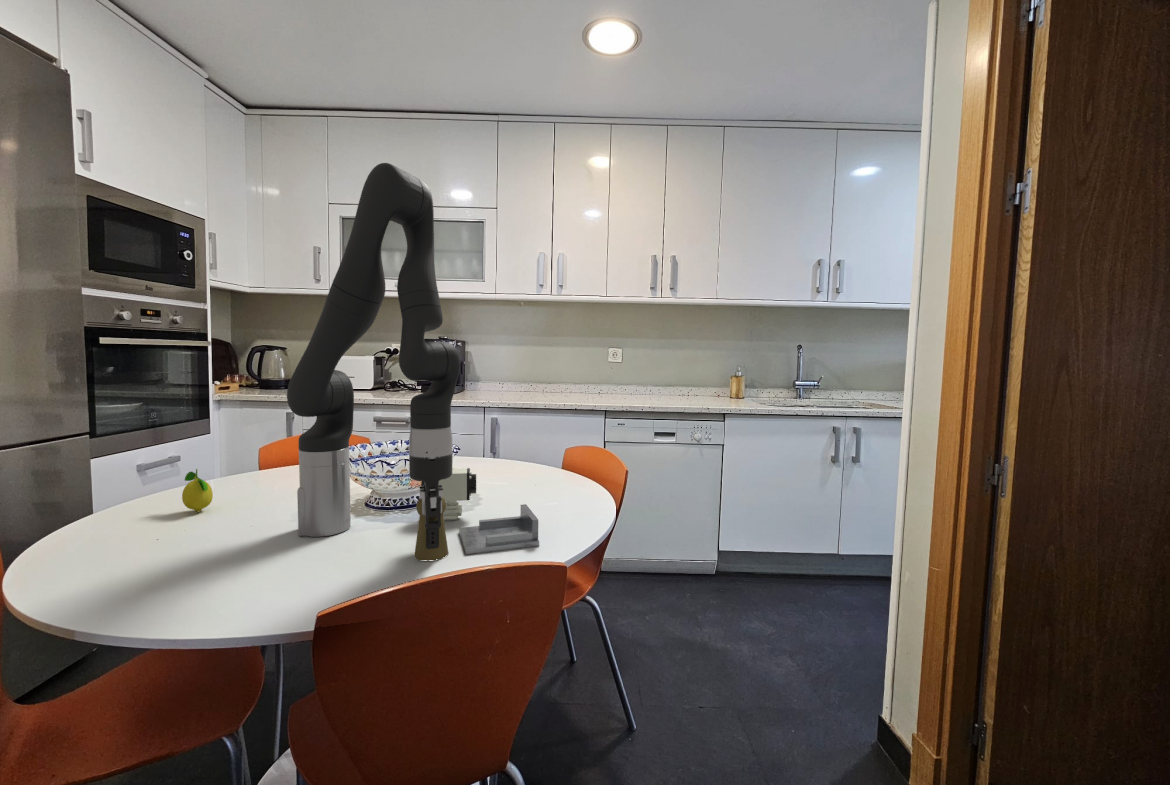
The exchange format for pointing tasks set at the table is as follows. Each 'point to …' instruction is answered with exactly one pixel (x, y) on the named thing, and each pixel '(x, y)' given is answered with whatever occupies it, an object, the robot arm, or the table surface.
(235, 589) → the table surface
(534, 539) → the bracket
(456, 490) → the pneumatic valve
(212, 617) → the table surface
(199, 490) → the lemon
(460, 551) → the table surface
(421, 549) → the cork
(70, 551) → the table surface
